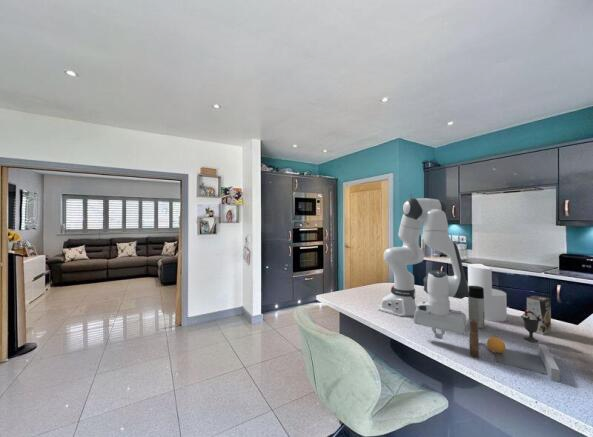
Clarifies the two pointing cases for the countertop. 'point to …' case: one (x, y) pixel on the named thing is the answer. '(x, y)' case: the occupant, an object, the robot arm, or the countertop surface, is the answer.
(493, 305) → the cylinder
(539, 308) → the coffee box
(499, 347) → the ball
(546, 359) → the bar
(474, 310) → the spray can
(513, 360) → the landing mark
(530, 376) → the countertop surface
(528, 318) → the sundae
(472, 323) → the post
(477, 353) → the post
